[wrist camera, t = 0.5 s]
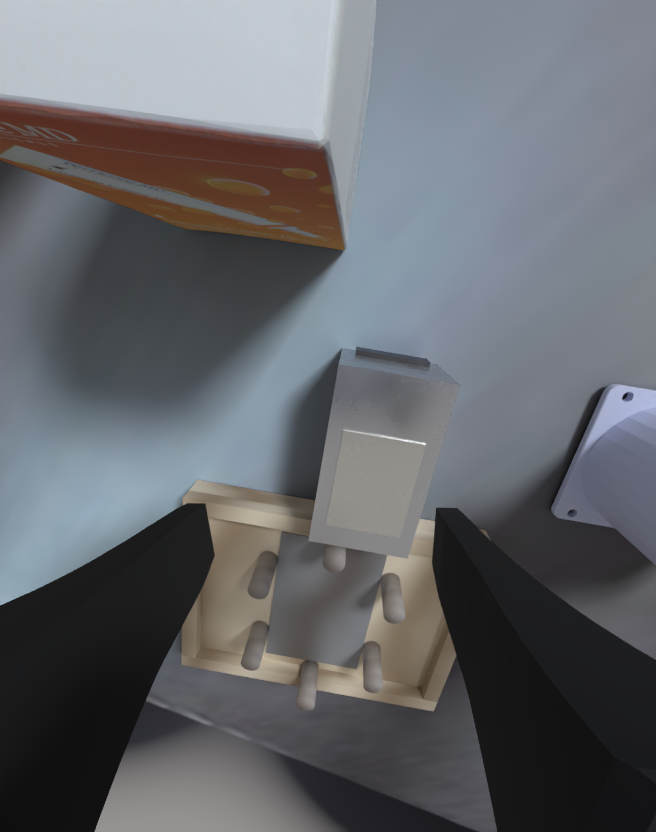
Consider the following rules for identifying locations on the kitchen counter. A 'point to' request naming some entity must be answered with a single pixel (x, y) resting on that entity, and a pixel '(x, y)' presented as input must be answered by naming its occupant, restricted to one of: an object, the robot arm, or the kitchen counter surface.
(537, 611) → the robot arm
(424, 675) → the tray
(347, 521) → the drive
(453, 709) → the kitchen counter surface
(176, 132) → the small box
